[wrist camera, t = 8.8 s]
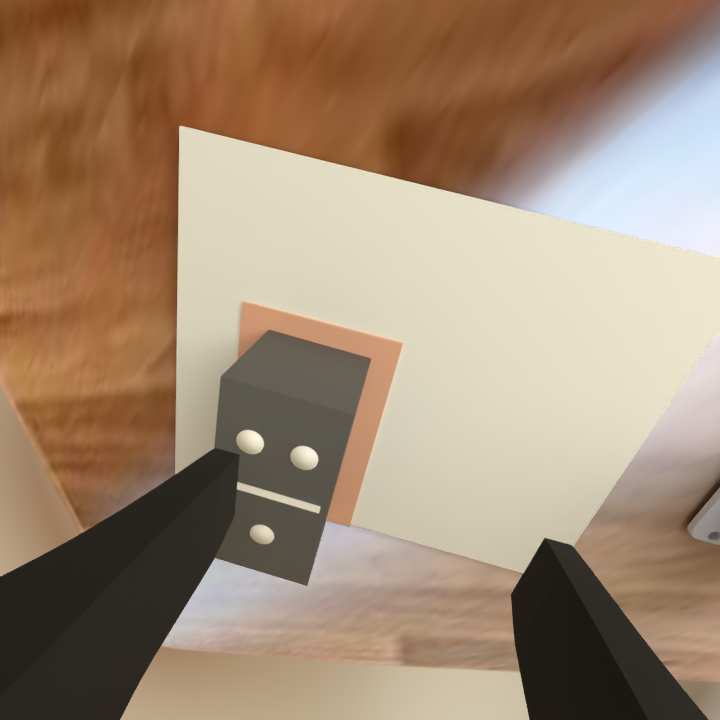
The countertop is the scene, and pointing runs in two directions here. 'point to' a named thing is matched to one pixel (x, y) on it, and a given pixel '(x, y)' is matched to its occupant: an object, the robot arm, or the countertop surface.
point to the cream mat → (438, 339)
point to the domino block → (285, 447)
